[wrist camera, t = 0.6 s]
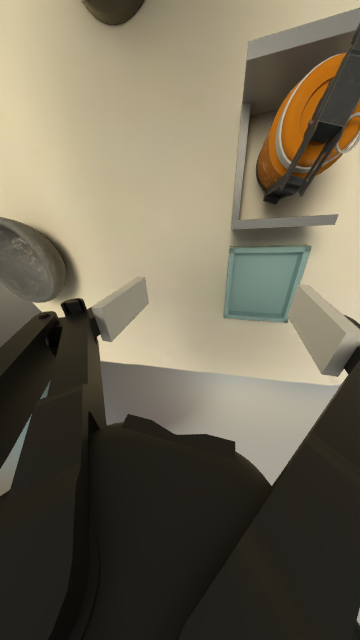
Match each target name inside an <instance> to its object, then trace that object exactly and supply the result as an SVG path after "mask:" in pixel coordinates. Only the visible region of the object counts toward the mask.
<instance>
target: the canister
mask: <svg viewBox="0 0 360 640" xmlns="http://www.w3.org/2000/svg"><path fill="white" fill-rule="evenodd" d="M352 39H353V40H352V42H351V45H352V46H351V48H350V49H349V51H348V52H347V53H342V54H338V55H335V56H332V57H330V58H328V59H326V60H324V61H323V62H321V63H320V64H319V65H317V66H316V67H315V68H313V69H312V70H311V71H310V72H309V73H308V74H307V75H306V76H305V77H304V78H303V79H302V80H301V81H300V82H299V83H298V84H297V85H296V86H295V87H294V88H293V89H292V90H291V92H290V93H289V94H288V95H287V97H286V98H285V100H284V101H283V103H282V105H281V106H280V108H279V110H278V112H277V114H276V117H275V119H274V121H273V124H272V126H271V128H270V131H269V133H268V135H267V137H266V140H265V142H264V144H263V147H262V149H261V151H260V154H259V157H258V160H257V165H256V175H257V179H258V182H259V184H260V185H261V187H262V188H263V189H264V190H266V194H265V197H264V200H263V201H266V202H269V203H273V204H277V202H278V201H279V200H280V199H282V198H284V197H286V196H289V195H292V194H295V193H296V192H297V191H299V194H300V196H302V195H303V193H304V192H305V190H306V189H307V187H308V186H309V184H310V183H311V181H312V180H313V178H314V177H315V176H316V175H318V174H320V173H321V172H323V171H324V170H326V169H327V168H329V167H330V166H331V165H332V164H333V163H335V162H336V161H337V160H338V159H339V158H340V157H341V156H342V154H343V153H347V152H349V151H350V150H351V149H353V148H354V147H355V146H356V144H357V143H358V142H359V140H360V133H359V132H360V23H359V25H358V27H357V29H356V31H355V33H354V35H353V38H352ZM358 134H359V136H358V138H357V139H356V141H355V142H354V144H353V145H352V146H351V147H350V148H349V149H347V148H348V147H349V145H350V144H351V143H352V142H353V140H354V139H355V138H356V137H357V135H358ZM346 149H347V150H346ZM307 180H308V181H307Z"/></svg>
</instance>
